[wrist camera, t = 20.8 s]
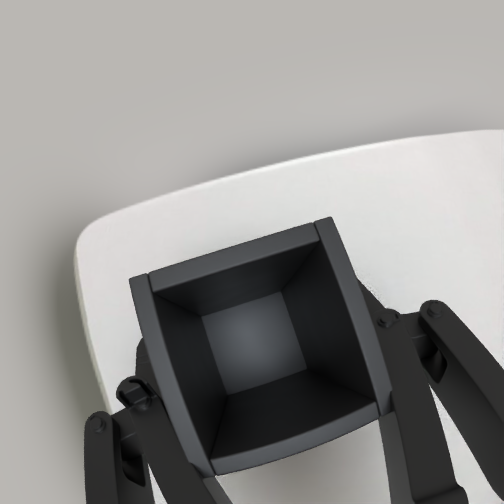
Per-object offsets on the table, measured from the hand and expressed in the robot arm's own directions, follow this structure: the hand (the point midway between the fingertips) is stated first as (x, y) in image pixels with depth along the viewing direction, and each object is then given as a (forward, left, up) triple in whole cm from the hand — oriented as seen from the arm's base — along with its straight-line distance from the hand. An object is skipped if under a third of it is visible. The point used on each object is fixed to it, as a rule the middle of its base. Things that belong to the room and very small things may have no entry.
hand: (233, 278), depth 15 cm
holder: (+1, -4, -2) cm, 4 cm away
